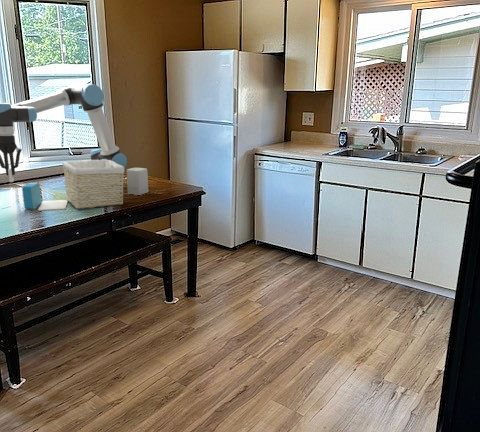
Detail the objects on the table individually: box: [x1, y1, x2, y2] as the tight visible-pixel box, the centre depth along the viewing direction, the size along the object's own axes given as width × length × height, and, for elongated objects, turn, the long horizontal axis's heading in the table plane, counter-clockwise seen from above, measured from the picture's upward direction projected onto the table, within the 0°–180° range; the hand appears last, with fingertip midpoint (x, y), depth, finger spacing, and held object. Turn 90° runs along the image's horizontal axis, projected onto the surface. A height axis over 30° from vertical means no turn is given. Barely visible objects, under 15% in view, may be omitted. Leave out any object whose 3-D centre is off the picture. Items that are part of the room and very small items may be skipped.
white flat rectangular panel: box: [37, 199, 69, 212], centre depth 235 cm, size 13×18×1 cm
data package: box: [21, 182, 42, 210], centre depth 231 cm, size 12×4×12 cm, turn 5°
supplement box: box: [125, 167, 149, 196], centre depth 262 cm, size 9×9×15 cm
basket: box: [62, 159, 125, 209], centre depth 240 cm, size 27×27×22 cm
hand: (11, 181), depth 226 cm, fingers closed
